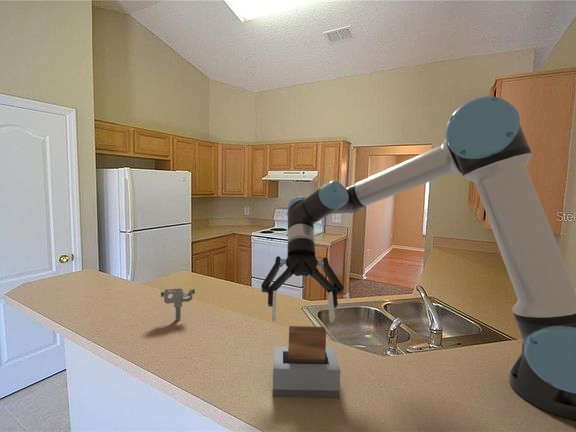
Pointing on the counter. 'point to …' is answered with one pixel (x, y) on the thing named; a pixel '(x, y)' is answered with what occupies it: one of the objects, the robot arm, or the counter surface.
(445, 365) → the counter surface
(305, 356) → the brown wood block
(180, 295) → the mechanical component
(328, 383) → the frame block
